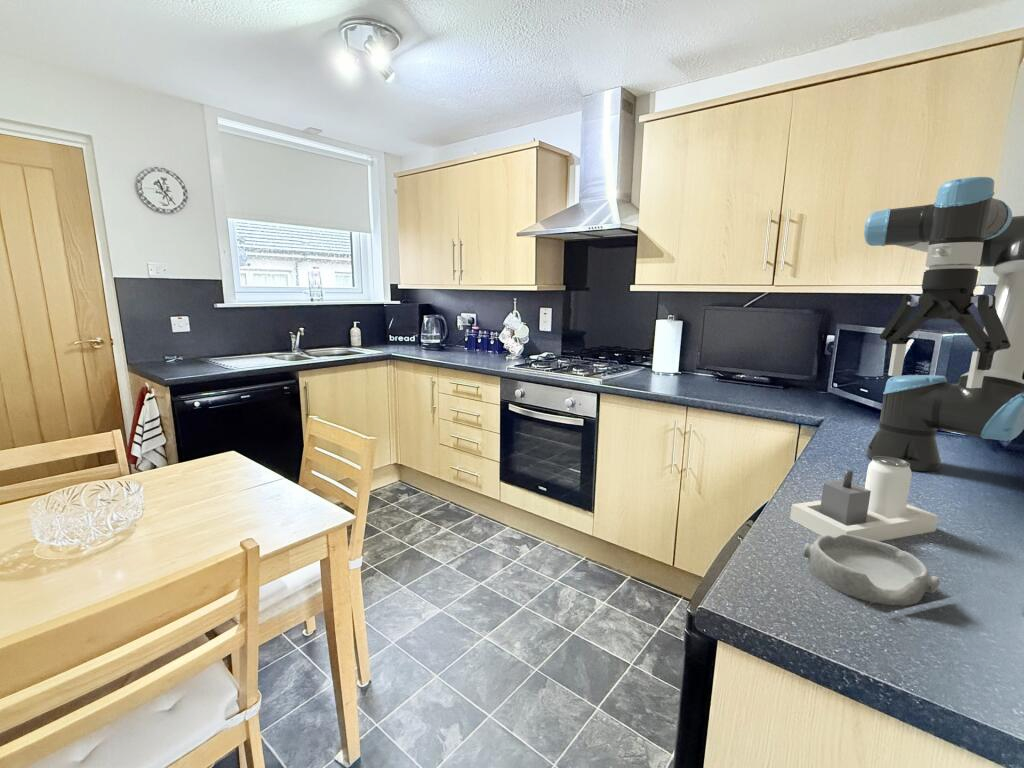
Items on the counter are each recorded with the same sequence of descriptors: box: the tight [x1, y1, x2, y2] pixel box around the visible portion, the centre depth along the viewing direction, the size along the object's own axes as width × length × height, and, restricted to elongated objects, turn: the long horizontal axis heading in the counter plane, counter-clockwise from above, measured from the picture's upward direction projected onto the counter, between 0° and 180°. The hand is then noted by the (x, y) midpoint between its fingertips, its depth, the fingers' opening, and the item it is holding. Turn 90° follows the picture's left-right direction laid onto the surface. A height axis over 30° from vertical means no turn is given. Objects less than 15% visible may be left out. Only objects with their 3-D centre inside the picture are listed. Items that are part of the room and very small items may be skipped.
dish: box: [802, 534, 940, 606], centre depth 72 cm, size 14×14×5 cm
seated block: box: [820, 469, 871, 526], centre depth 87 cm, size 5×5×11 cm
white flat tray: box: [789, 500, 939, 542], centre depth 89 cm, size 22×11×4 cm, turn 107°
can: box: [864, 456, 913, 519], centre depth 89 cm, size 6×6×12 cm
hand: (931, 381), depth 92 cm, fingers open, 13 cm apart
